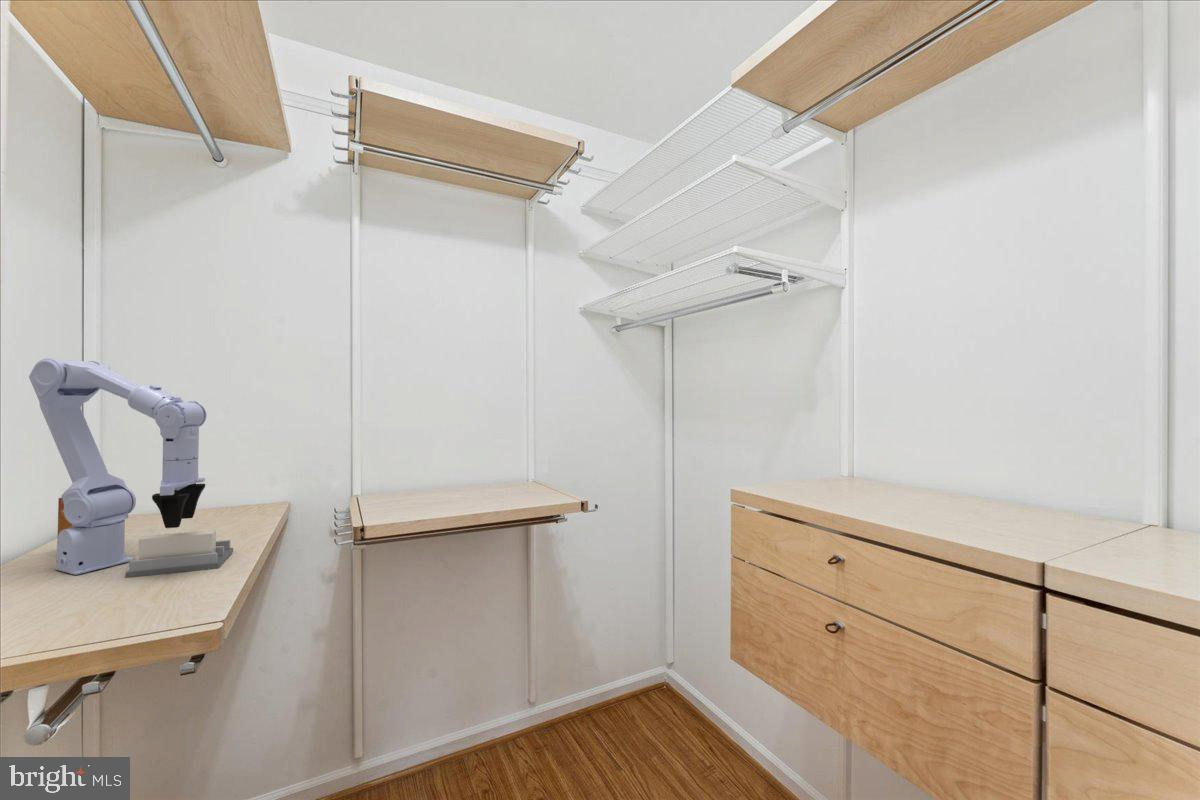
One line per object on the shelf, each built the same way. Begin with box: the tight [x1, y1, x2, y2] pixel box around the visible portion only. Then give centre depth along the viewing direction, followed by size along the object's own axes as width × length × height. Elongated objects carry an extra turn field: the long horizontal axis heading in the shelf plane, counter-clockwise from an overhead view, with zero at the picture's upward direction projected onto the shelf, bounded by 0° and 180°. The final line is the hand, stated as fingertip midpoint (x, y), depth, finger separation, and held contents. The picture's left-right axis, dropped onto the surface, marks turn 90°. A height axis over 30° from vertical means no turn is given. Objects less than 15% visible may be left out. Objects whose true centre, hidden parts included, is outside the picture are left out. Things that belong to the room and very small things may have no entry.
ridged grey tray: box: [124, 539, 234, 579], centre depth 103 cm, size 15×11×3 cm
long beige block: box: [137, 529, 217, 560], centre depth 101 cm, size 12×3×6 cm, turn 115°
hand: (179, 522), depth 102 cm, fingers open, 7 cm apart
